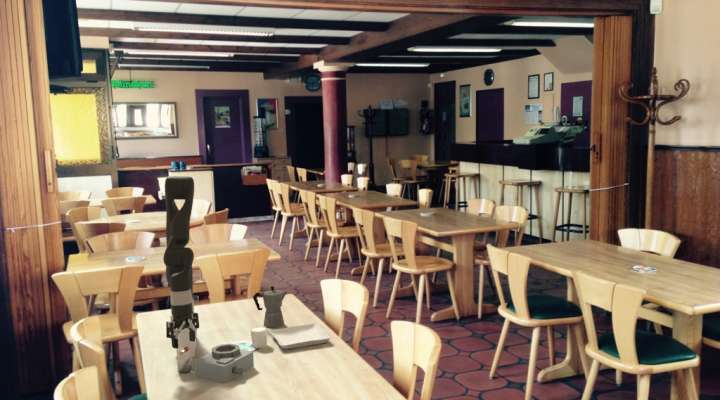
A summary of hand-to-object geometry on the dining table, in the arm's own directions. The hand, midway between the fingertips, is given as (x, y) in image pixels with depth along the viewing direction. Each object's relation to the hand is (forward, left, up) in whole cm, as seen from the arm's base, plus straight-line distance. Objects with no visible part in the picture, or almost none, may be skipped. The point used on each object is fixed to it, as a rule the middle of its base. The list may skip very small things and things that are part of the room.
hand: (184, 344), depth 232 cm
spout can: (0, 0, -10) cm, 10 cm away
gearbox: (+15, +6, -10) cm, 19 cm away
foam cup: (-11, +12, -10) cm, 20 cm away
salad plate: (+19, +46, -11) cm, 51 cm away
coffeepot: (-4, +58, -10) cm, 59 cm away
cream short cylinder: (+8, +34, -10) cm, 36 cm away
